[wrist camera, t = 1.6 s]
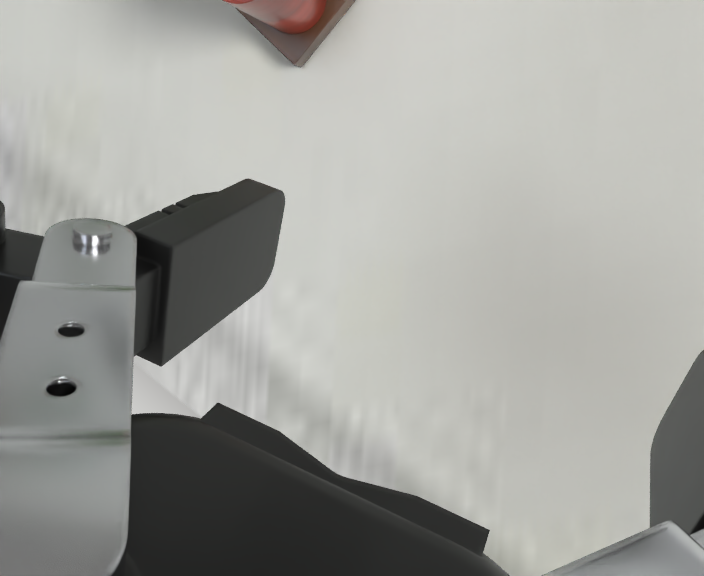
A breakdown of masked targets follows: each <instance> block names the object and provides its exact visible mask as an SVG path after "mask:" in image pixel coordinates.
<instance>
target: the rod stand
mask: <svg viewBox="0 0 704 576" xmlns="http://www.w3.org/2000/svg"><path fill="white" fill-rule="evenodd" d="M223 1H224V2H226V3H228V4H230V5H232V6H234V7H236V9H237V10H238V11H239V12H240V13H241V14H242V15H243V16H244V17H245V18H246V19H247V20H248V21H249V22H250V23H251V24H252V25H253V26H254V27H255V28H256V29H258V30H259V31H260V32H261V33H262V34H263V35H264V36H265V37H266V38H267V39H268V40H269V41H270V42H271V43H272V44H273V45H274V46H275V47H276V48H277V49H278V50H279V51H280V52H281V53H282V54H283V55H284V56H286V57H287V58H288V59H289V60H290V61H291V62H292V63H293V64H294V65H296V66H298V67H302V66H303V65H304V64H305V62H306V61H307V60H308V59H309V57H310V56H311V55H312V54H313V52H314V51H315V50H316V49H317V47H318V46H319V45H320V44H321V43H322V41H323V40H324V39H325V38H326V36H327V35H328V34H329V33H330V31H331V30H332V29H333V28H334V26H335V25H336V24H337V23H338V21H339V20H340V19H341V18H342V17H343V15H344V14H345V13H346V12H347V10H348V9H349V8H350V7H351V5H352V4H353V3H354V2H355V0H223Z"/></svg>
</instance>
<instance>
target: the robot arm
mask: <svg viewBox="0 0 704 576" xmlns="http://www.w3.org/2000/svg"><path fill="white" fill-rule="evenodd" d="M284 206H285V196H284V193H283V192H282V191H281V190H278V189H276V188H273V187H270V186H268V185H265V184H262V183H259V182H257V181H254V180H251V179H245V180H242V181H240V182H238V183H236V184H234V185H232V186H230V187H228V188H225V189H223V190H221V191H219V192H211V193H204V194H197V195H192V196H190V197H188V198H186V199H183V200H181V201H179V202H177V203H176V205H173V204H172V205H170V206H168V207H166V208H163V209H162V211H157V212H155V213H152V214H150V215H148V216H146V217H143V218H141V219H139V220H137V221H135V222H132V223H130V224H128V225H126V226H123V225H120V224H118V223H115V222H111V221H107V220H101V219H90V218H82V219H71V220H66V221H62V222H59V223H57V224H54V225H53V226H51V227H50V228H49V229H48V230H47V231H46V233H45V236H44V237H43V236H39V235H34V234H29V233H25V232H20V231H15V230H10V229H6V228H5V207H4V205H3V203H2V202H1V201H0V576H509V575H508V574H507V573H506V572H505V571H504V570H503V569H502V568H501V567H499V566H498V565H497V564H496V563H495V562H494V561H493V560H491V559H490V558H489V557H487V556H486V555H485V554H483V551H484V547H485V544H486V541H487V537H488V534H489V531H490V530H488V529H486V528H484V527H482V526H480V525H477V524H475V523H473V522H471V521H469V520H467V519H465V518H463V517H460V516H458V515H456V514H454V513H452V512H450V511H448V510H446V509H443V508H441V507H439V506H437V505H435V504H433V503H431V502H429V501H426V500H424V499H422V498H420V497H418V496H415V495H411V494H407V493H403V492H399V491H395V490H392V489H388V488H384V487H380V486H376V485H373V484H369V483H365V482H361V481H357V480H354V479H350V478H346V477H343V476H340V475H338V474H336V473H335V472H333V471H332V470H330V469H329V468H328V467H326V466H325V465H324V464H322V463H321V462H320V461H318V460H317V459H316V458H314V457H313V456H312V455H310V454H309V453H308V452H306V451H305V450H303V449H302V448H301V447H299V446H298V445H297V444H295V443H294V442H293V441H291V440H290V439H289V438H287V437H286V436H285V435H283V434H282V433H281V432H279V431H277V430H275V429H273V428H271V427H269V426H267V425H265V424H262V423H260V422H258V421H256V420H254V419H252V418H250V417H248V416H245V415H243V414H241V413H239V412H237V411H235V410H233V409H231V408H228V407H226V406H224V405H222V404H220V403H217V404H216V405H215V406H214V407H213V408H212V409H211V410H210V411H209V412H207V413H206V414H205V415H204V416H203V417H202V418H201V419H200V418H196V417H190V416H184V415H178V414H165V413H143V414H132V415H131V411H132V409H131V408H132V384H133V358H134V356H135V355H137V356H140V357H142V358H144V359H146V360H148V361H150V362H152V363H155V364H157V365H159V366H163V365H164V364H165V363H167V362H168V361H169V360H170V359H172V358H173V357H174V356H176V355H177V354H178V353H180V352H181V351H182V350H183V349H185V348H186V347H187V346H189V345H190V344H191V343H193V342H194V341H195V340H196V339H198V338H199V337H200V336H202V335H203V334H204V333H206V332H207V331H208V330H209V329H211V328H212V327H213V326H215V325H216V324H217V323H219V322H220V321H221V320H222V319H224V318H225V317H226V316H228V315H229V314H230V313H232V312H233V311H234V310H235V309H237V308H238V307H239V306H241V305H242V304H243V303H245V302H246V301H247V300H248V299H250V298H251V297H252V296H254V295H255V294H256V293H258V292H259V291H260V290H261V289H262V288H263V287H264V285H265V284H266V282H267V281H268V279H269V277H270V275H271V272H272V270H273V266H274V262H275V257H276V251H277V246H278V240H279V234H280V229H281V223H282V218H283V212H284ZM542 576H704V350H703V351H702V352H701V353H700V354H699V355H698V357H697V358H696V360H695V361H694V363H693V365H692V367H691V368H690V370H689V372H688V374H687V375H686V377H685V379H684V381H683V382H682V384H681V386H680V388H679V390H678V391H677V393H676V395H675V397H674V398H673V400H672V402H671V404H670V406H669V407H668V409H667V411H666V413H665V414H664V416H663V418H662V420H661V422H660V424H659V426H658V428H657V431H656V433H655V436H654V439H653V443H652V447H651V459H650V528H649V529H647V530H644V531H642V532H640V533H637V534H635V535H633V536H631V537H628V538H626V539H624V540H622V541H619V542H617V543H615V544H612V545H610V546H608V547H606V548H603V549H601V550H599V551H596V552H594V553H592V554H590V555H587V556H585V557H583V558H580V559H578V560H576V561H574V562H571V563H569V564H567V565H565V566H562V567H560V568H558V569H555V570H553V571H551V572H549V573H546V574H544V575H542Z"/></svg>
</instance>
